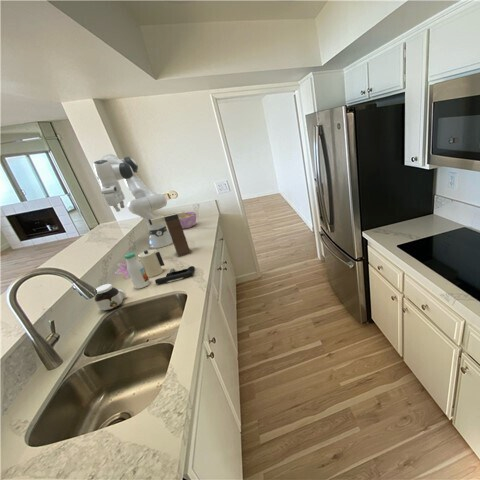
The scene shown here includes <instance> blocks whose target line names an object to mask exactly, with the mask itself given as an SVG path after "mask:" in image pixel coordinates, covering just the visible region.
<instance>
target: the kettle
mask: <svg viewBox="0 0 480 480" xmlns="http://www.w3.org/2000/svg"><path fill="white" fill-rule="evenodd" d="M137 257H138V258H136V259H137V260H138V261H139V262H140V263H141V264H142V265H143V267H144V269H145V271H146V274H147V276H148V278H151V277H152V278H153V277H156V276H159V275H160V274H162V273H163V272H164V271H163V268H162V267H163V266H165V263H164V260H163V258H162V255H161V252H160V251H155V250H154V249H149V250H148V249H147V250H144V251H142V252H141V253H138V255H137Z"/></svg>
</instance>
